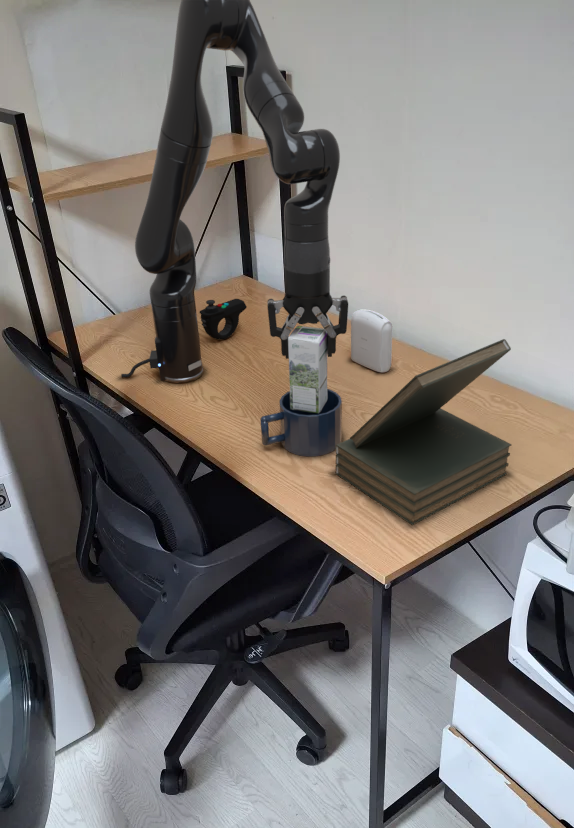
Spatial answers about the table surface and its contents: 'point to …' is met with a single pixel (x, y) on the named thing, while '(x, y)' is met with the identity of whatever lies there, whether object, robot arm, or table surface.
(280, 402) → the mug
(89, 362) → the table surface
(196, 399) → the table surface
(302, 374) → the syrup box
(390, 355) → the photo printer
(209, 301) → the controller
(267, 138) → the robot arm
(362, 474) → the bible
